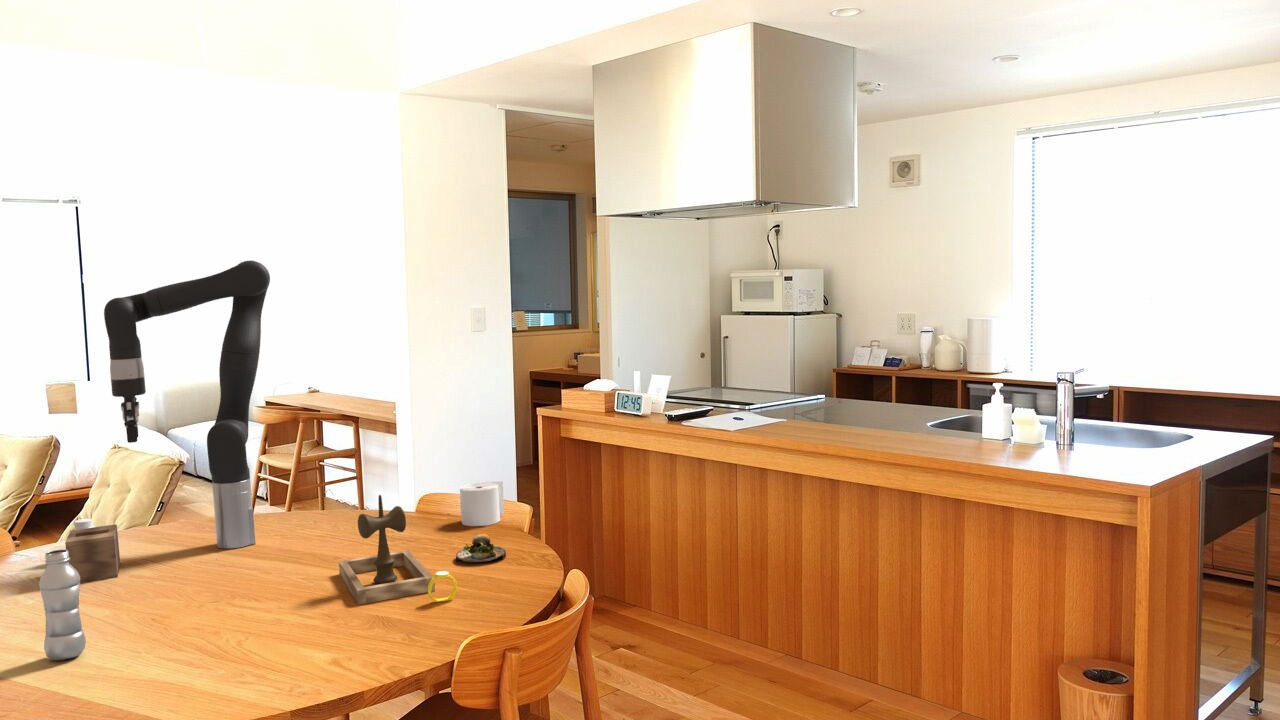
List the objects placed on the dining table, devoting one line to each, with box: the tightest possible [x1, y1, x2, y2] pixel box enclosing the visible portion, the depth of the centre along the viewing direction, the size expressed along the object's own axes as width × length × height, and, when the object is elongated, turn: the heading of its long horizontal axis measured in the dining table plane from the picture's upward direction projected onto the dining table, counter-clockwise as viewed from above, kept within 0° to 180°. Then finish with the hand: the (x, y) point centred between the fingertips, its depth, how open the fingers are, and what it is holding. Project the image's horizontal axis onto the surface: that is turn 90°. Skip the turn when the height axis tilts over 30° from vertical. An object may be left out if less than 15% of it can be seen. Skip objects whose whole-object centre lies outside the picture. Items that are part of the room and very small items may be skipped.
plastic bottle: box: [38, 548, 87, 661], centre depth 178 cm, size 6×7×20 cm
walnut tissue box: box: [64, 524, 121, 584], centre depth 233 cm, size 10×13×10 cm
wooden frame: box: [338, 550, 436, 605], centre depth 217 cm, size 16×25×3 cm, turn 26°
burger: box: [455, 533, 507, 563], centre depth 232 cm, size 12×12×8 cm
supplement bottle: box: [72, 518, 96, 530], centre depth 246 cm, size 6×6×10 cm
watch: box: [427, 570, 458, 603], centre depth 202 cm, size 6×3×6 cm, turn 121°
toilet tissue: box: [459, 481, 505, 527], centre depth 269 cm, size 11×12×10 cm
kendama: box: [357, 494, 407, 585], centre depth 216 cm, size 6×10×20 cm, turn 129°
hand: (133, 440), depth 245 cm, fingers open, 8 cm apart
